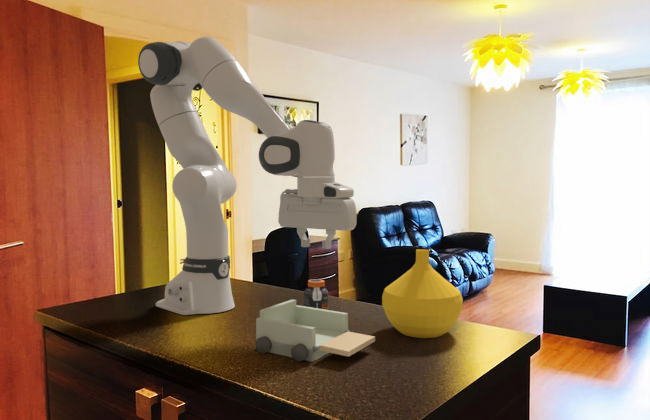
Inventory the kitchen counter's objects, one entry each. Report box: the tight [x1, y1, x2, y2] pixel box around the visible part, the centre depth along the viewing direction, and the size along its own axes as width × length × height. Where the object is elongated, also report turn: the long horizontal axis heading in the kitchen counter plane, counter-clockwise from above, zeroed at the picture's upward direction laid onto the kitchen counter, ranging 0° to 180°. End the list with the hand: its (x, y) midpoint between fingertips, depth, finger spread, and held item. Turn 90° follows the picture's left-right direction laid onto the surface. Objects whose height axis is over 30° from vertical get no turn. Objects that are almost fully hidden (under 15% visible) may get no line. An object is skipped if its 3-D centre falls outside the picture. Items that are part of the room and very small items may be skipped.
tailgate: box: [320, 331, 376, 358], centre depth 106 cm, size 1×11×6 cm
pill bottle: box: [303, 278, 330, 310], centre depth 126 cm, size 6×6×11 cm
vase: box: [381, 248, 464, 339], centre depth 121 cm, size 18×18×19 cm
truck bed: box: [255, 298, 351, 363], centre depth 111 cm, size 15×17×8 cm
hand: (316, 247), depth 125 cm, fingers open, 5 cm apart
